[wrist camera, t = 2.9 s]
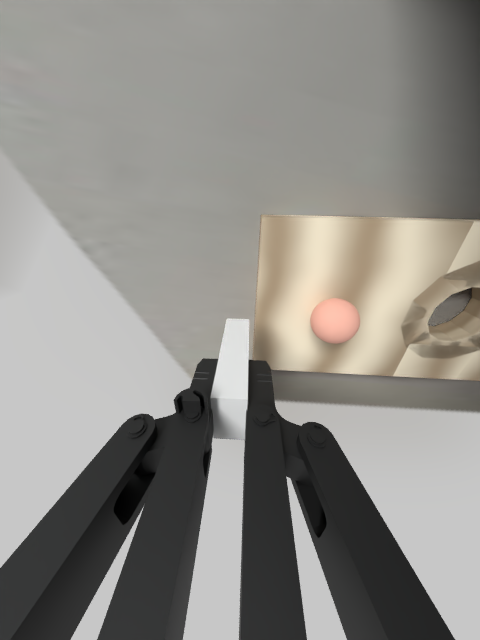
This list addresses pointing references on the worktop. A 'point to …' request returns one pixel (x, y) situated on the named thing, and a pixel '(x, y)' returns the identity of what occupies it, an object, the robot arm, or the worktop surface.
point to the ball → (335, 320)
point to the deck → (369, 294)
